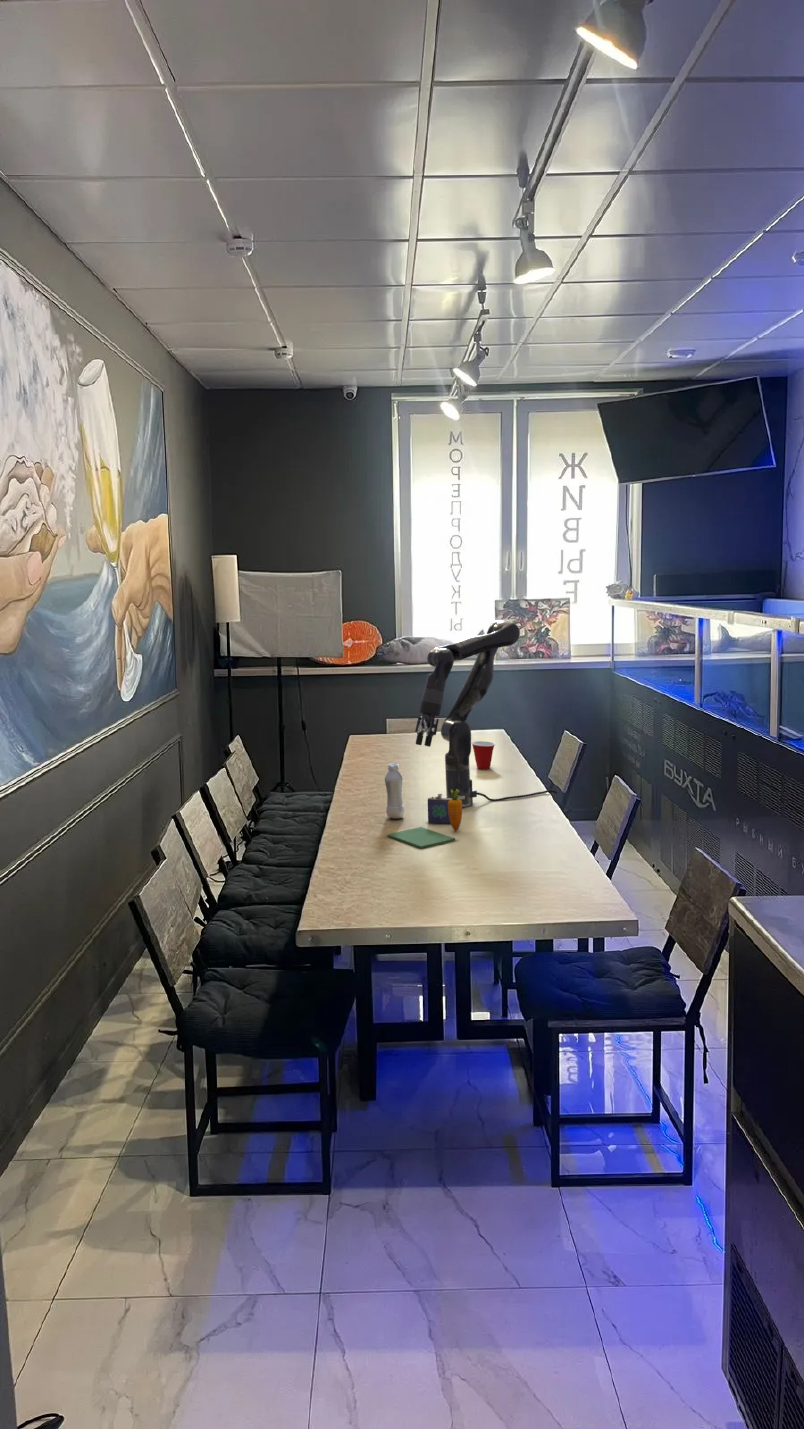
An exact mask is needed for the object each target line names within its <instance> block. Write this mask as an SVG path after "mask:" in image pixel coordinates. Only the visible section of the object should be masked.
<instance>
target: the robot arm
mask: <svg viewBox="0 0 804 1429" xmlns="http://www.w3.org/2000/svg"><path fill="white" fill-rule="evenodd" d="M520 635H521V630H520V627H519V626H518V625H517V624H516V623H515V622H511V621H507V620H501V619H496V620H494V621H492V622H491V623H490V625H489V627H488V629H487V632H486V634H482V635H475V636H470V637H466V638H463V639H460V640H457V641H455V642H453V643H449V644H445V645H442V646H441V645H440V646H438V647H435V648H433V649H431V650H430V651H429V652H428V653H427V656H426V660H427V662H428V664H429V666H431V667H433V668H434V670H433V671H432V672H431V673H428V674H427V676H426V680H425V686H424V689H423V692H422V696H421V701H420V706H419V713H420V714H422V716H417V721H416V726H415V730H414V732H415V733H416V739H415V745H417V746H422V744H423V740H424V735H425V733H426V736H425V740H424V747H429V748H430V747H431V746H432V741H433V737H434V736H436V735H437V733H438V732H437V731H438V727H439V720H440V719H439V718H436V717H440V716H441V715H440V714H441V711H442V710H441V709H442V705H443V701H444V700H443V699H444V692H445V687H446V681H447V679H448V677H449V675H450V673H451V671H452V669H453V666H454V663H455V662H460V661H463V660H466V659H468V658H471V657H473V656H476V655H477V656H476V659H475V661H474V663H473V666H472V667H471V669H470V671H469V673H468V675H467V677H466V679H465V682H464V684H463V685H462V688H461V690H460V692H459V694H458V696H457V698H456V700H455V702H454V704H453V706H452V707H451V709H450V710H449V712H448V714H447V715H446V718H445V719H444V720H443V723H442V724H441V727H440V735H441V737H442V739H443V740H444V741H446V742H448V751H447V752H446V753H445V754H444V768H445V796H446V797H445V798H452V794H451V791H450V790H451V789H452V790H453V792H454V794H455V791H456V789H457V790H458V791H459V793H458V794H457V795H459V797H458V798H457V799H460V800H461V801H462V808H466V807H469V806H472V805H473V804H474V798H477V797H478V796H481V797H483V798H485V799H486V800H487V801H489V802H500V801H506V800H512V799H521V798H528V797H533V796H537V795H543V794H547V793H554V794H558V792H557V791H556V790H554V789H546V790H543V791H537V792H533V793H529V794H528V793H527V794H521V795H511V796H505V797H500V798H490V797H489V796H487V795H486V794H485V793H483V792H478V791H477V790H476V789H473V780H472V779H471V772H470V771H471V770H470V756H471V753H472V730H471V726H470V724H469V722H467V719H468V717H469V715H470V714H471V712H472V710H473V709H474V708H475V707H476V706H478V704H479V703H480V702H481V701H482V700H483V698H484V697H485V696H486V695H487V693H488V691H489V688H490V687H491V685H492V682H493V680H494V677H495V676H494V675H495V666H494V665H495V664H494V663H495V657H496V654H497V651H498V649H499V648H504V647H509V646H513V645H515V644H516V643H517V642H518V641H519V639H520V637H521V636H520ZM452 799H453V798H452Z"/></svg>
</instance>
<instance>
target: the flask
mask: <svg viewBox="0 0 804 1429" xmlns="http://www.w3.org/2000/svg"><path fill="white" fill-rule="evenodd" d="M451 799H452V798H446V797H443V793H438V794H437V796H432V797H428V798H427V819H428V820H427V823H428V824H432V825H433V824H434V825H451V823H450V819H449V813H448V801H449V800H451Z"/></svg>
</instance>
